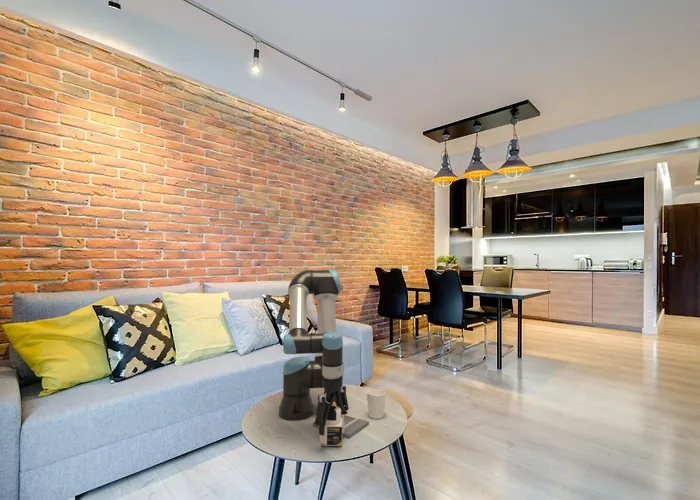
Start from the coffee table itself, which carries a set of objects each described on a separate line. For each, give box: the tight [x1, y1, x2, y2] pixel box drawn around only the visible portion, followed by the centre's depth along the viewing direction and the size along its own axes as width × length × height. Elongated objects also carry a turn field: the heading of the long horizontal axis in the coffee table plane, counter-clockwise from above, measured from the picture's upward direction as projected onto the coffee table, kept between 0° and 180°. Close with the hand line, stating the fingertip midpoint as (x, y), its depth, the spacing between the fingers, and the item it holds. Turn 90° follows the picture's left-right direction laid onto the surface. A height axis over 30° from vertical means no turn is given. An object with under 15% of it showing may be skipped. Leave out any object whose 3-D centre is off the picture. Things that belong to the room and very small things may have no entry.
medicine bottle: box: [321, 406, 343, 447], centre depth 129 cm, size 7×7×12 cm
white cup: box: [366, 388, 386, 420], centre depth 151 cm, size 8×8×10 cm
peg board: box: [312, 401, 370, 440], centre depth 142 cm, size 18×14×7 cm
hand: (332, 437), depth 129 cm, fingers closed on medicine bottle, 10 cm apart
